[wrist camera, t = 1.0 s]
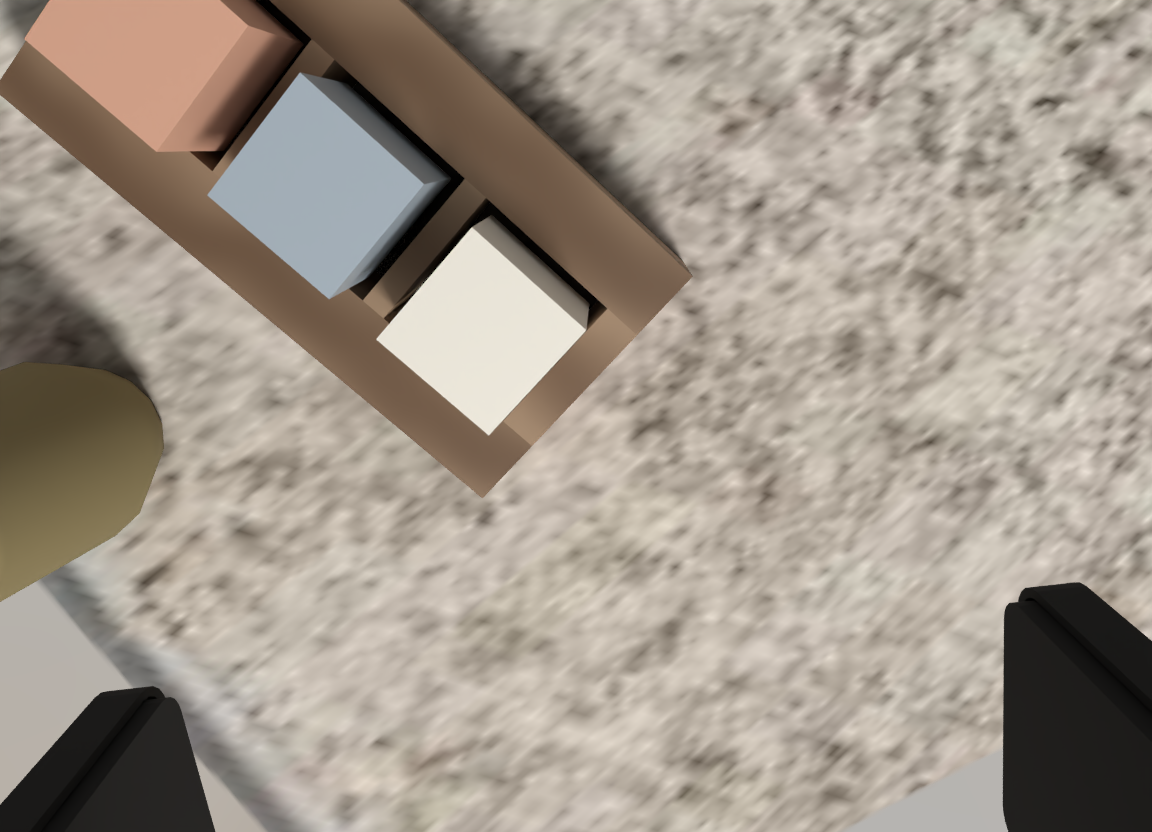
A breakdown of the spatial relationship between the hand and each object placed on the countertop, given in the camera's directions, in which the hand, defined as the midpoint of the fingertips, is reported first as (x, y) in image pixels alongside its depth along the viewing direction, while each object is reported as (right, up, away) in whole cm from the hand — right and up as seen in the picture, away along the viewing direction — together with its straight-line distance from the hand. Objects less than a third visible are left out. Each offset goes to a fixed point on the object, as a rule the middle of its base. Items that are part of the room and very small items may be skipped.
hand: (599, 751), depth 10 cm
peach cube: (-14, +17, +23) cm, 32 cm away
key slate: (-8, +13, +24) cm, 28 cm away
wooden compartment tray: (-8, +13, +27) cm, 31 cm away
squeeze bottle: (-22, +3, +31) cm, 38 cm away
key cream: (-3, +8, +25) cm, 27 cm away
